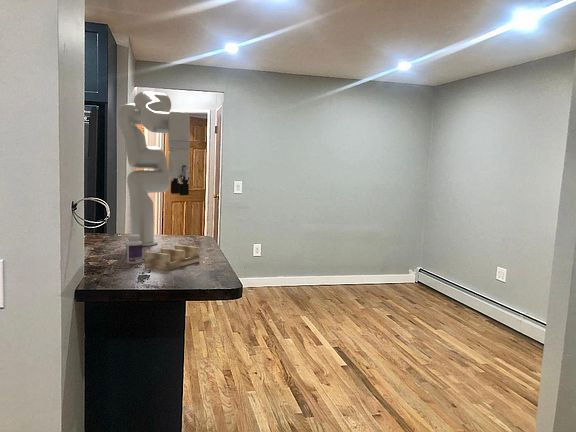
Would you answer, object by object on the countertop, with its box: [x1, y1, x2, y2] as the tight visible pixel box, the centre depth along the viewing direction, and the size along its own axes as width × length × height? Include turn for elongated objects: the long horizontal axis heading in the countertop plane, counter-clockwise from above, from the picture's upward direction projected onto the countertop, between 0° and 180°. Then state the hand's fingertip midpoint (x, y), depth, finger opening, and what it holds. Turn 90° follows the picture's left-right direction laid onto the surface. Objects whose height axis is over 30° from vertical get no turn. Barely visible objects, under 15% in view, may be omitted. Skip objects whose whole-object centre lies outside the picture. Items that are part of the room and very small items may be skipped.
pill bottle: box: [125, 235, 143, 265], centre depth 163 cm, size 5×5×10 cm
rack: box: [144, 244, 200, 271], centre depth 162 cm, size 10×17×5 cm, turn 154°
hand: (179, 194), depth 168 cm, fingers open, 9 cm apart
